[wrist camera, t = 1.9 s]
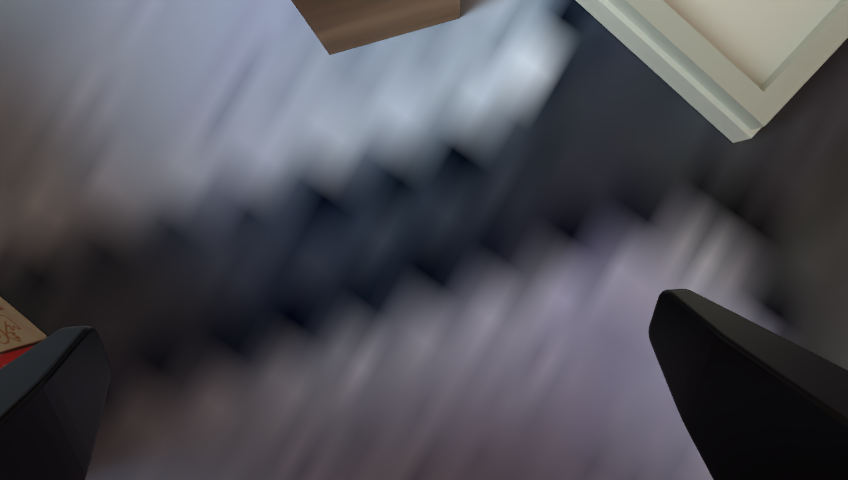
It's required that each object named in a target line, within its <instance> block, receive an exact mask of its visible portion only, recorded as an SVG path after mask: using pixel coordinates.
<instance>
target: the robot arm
mask: <svg viewBox="0 0 848 480" xmlns="http://www.w3.org/2000/svg"><path fill="white" fill-rule="evenodd" d="M649 338H650V342H651V345H652V347H653V350H654V352H655V355H656V357H657V360H658V362H659V365H660V367H661V369H662V372H663V374H664V377H665V379H666V382H667V384H668V387H669V389H670V392H671V394H672V397H673V399H674V402H675V404H676V407H677V409H678V411H679V414H680V416H681V418H682V420H683V422H684V424H685V426H686V428H687V430H688V432H689V434H690V436H691V438H692V440H693V442H694V444H695V446H696V447H697V449H698V451H699V453H700V455H701V457H702V459H703V461H704V462H705V464H706V466H707V468H708V470H709V472H710V474H711V476H712V478H713V479H714V480H848V371H847V370H845V369H843V368H842V367H840V366H838V365H836V364H834V363H832V362H830V361H828V360H826V359H824V358H822V357H820V356H818V355H816V354H814V353H812V352H810V351H808V350H806V349H804V348H802V347H800V346H798V345H796V344H794V343H792V342H791V341H789V340H787V339H785V338H783V337H781V336H779V335H777V334H775V333H773V332H771V331H769V330H767V329H765V328H763V327H761V326H759V325H757V324H755V323H753V322H751V321H749V320H747V319H745V318H744V317H742V316H740V315H738V314H736V313H734V312H732V311H730V310H728V309H726V308H724V307H722V306H720V305H718V304H716V303H714V302H712V301H710V300H708V299H706V298H704V297H702V296H700V295H698V294H696V293H695V292H693V291H691V290H688V289H673V290H665V291H663V292H662V293H661V294H660V295H659V297H658V300H657V304H656V307H655V310H654V313H653V316H652V319H651V322H650V326H649ZM110 379H111V368H110V364H109V361H108V359H107V356H106V353H105V351H104V348H103V346H102V343H101V340H100V338H99V335H98V333H97V331H96V330H95V329H94V328H93V327H91V326H74V327H64V328H61V329H59V330H57V331H56V332H54V333H53V334H51V335H50V336H48V337H47V338H45V339H44V340H42V341H41V342H39V343H38V344H36V345H35V346H33V347H32V348H30V349H29V350H27V351H26V352H24V353H23V354H22V355H20V356H19V357H17V358H16V359H14V360H13V361H11V362H10V363H8V364H7V365H5V366H4V367H2V368H1V369H0V480H85V477H86V474H87V471H88V467H89V464H90V460H91V456H92V452H93V448H94V444H95V440H96V436H97V432H98V428H99V424H100V420H101V416H102V412H103V408H104V404H105V400H106V396H107V392H108V388H109V384H110Z"/></svg>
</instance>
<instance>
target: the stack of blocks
mask: <svg viewBox="0 0 848 480" xmlns="http://www.w3.org/2000/svg"><path fill="white" fill-rule="evenodd" d="M45 338H47V336H46V335H45V334H44V333H43V332H42V331H40V330H39V329H38V328H37V327H36V326H35V325H33V324H32V323H31V322H30V321H29V320H28V319H27V318H25V317H24V316H23V315H22V314H21V313H19V312H18V311H17V310H16V309H15V308H14V307H12V306H11V305H10V304H9V303H8V302H6V301H5V300H4V299H3V298H2V297H0V369H1V368H2V367H4V366H5V365H7V364H8V363H10V362H11V361H13V360H14V359H16V358H17V357H19V356H20V355H22V354H23V353H24V352H26V351H27V350H29V349H30V348H32V347H33V346H35V345H36V344H38V343H39V342H41V341H42V340H44V339H45Z"/></svg>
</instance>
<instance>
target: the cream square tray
mask: <svg viewBox="0 0 848 480" xmlns="http://www.w3.org/2000/svg"><path fill="white" fill-rule="evenodd" d="M576 1H577V2H578V3H579V4H580V5H581V6H582V7H583V8H585V9H586V10H587V11H588V12H589V13H590V14H591V15H592V16H593V17H594V18H596V19H597V20H598V21H599V22H600V23H601V24H602V25H603V26H604V27H605V28H607V29H608V30H609V31H610V32H611V33H612V34H613V35H614V36H615V37H617V38H618V39H619V40H620V41H621V42H622V43H623V44H624V45H625V46H626V47H628V48H629V49H630V50H631V51H632V52H633V53H634V54H635V55H636V56H638V57H639V58H640V59H641V60H642V61H643V62H644V63H645V64H646V65H647V66H649V67H650V68H651V69H652V70H653V71H654V72H655V73H656V74H657V75H658V76H660V77H661V78H662V79H663V80H664V81H665V82H666V83H667V84H668V85H670V86H671V87H672V88H673V89H674V90H675V91H676V92H677V93H678V94H679V95H681V96H682V97H683V98H684V99H685V100H686V101H687V102H688V103H689V104H690V105H692V106H693V107H694V108H695V109H696V110H697V111H698V112H699V113H700V114H702V115H703V116H704V117H705V118H706V119H707V120H708V121H709V122H710V123H711V124H713V125H714V126H715V127H716V128H717V129H718V130H719V131H720V132H721V133H722V134H724V135H725V136H726V137H727V138H728V139H729V140H730V141H731V142H732V143H735V142H739V141H743V140H747V139H751V138H752V137H753V136H754V135H755V134H756V133H757V132H758V131H759V130H760V129H761V128H762V127H764V126H765V125H766V124H767V123H768V122H769V121H770V120H771V119H772V118H773V117H774V116H775V115H776V114H777V113H778V112H779V110H780V109H781V108H782V107H783V106H784V105H785V104H786V103H787V102H788V101H789V100H790V99H791V98H792V97H793V96H794V94H795V93H796V92H797V91H798V90H799V89H800V88H801V87H802V86H803V85H804V84H805V83H806V82H807V81H808V80H809V78H810V77H811V76H812V75H813V74H814V73H815V72H816V71H817V70H818V69H819V68H820V67H821V66H822V65H823V63H824V62H825V61H826V60H827V59H828V58H829V57H830V56H831V55H832V54H833V53H834V52H835V51H836V50H837V49H838V47H839V46H840V45H841V44H842V43H843V42H844V41H845V40H846V39H847V38H848V0H576Z"/></svg>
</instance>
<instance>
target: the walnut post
mask: <svg viewBox="0 0 848 480" xmlns="http://www.w3.org/2000/svg"><path fill="white" fill-rule="evenodd" d="M291 1H292V2H293V3H294V5H295V6H296V8H297V9H298V10H299V12H300V13H301V15H302V16H303V17H304V19H305V20H306V22H307V23H308V25H309V26H310V27H311V29H312V30H313V32H314V33H315V34H316V36H317V37H318V39H319V40H320V42H321V43H322V44H323V46H324V47H325V49H326V50H327V51H328V53H329V54H330V55H331V54H334V53H338V52H341V51H345V50H348V49H352V48H355V47H359V46H362V45H366V44H370V43H373V42H377V41H380V40H384V39H387V38H391V37H394V36H398V35H401V34H405V33H408V32H412V31H415V30H419V29H422V28H426V27H430V26H433V25H437V24H440V23H444V22H447V21H451V20H454V19H458V18H459V17H460V4H461V0H291Z"/></svg>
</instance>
